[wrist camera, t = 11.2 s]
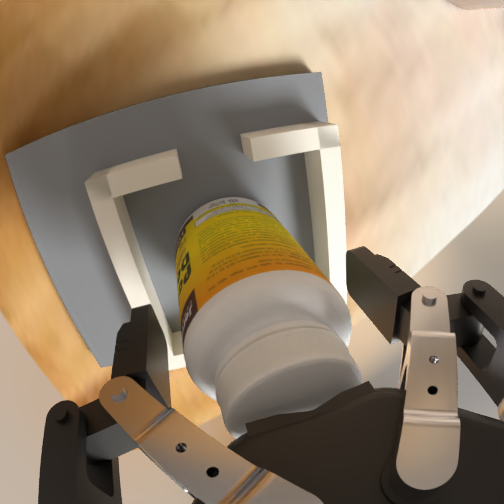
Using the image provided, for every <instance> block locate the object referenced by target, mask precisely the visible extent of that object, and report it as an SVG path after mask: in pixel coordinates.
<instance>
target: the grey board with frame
mask: <svg viewBox="0 0 504 504" xmlns="http://www.w3.org/2000/svg"><path fill="white" fill-rule="evenodd" d="M5 157H6V160H7V164H8V167H9V171H10V174H11V177H12V181H13V184H14V187H15V190H16V193H17V196H18V199H19V202H20V205H21V207H22V210H23V213H24V216H25V218H26V221H27V224H28V226H29V229H30V231H31V234H32V236H33V239H34V241H35V244H36V246H37V248H38V251H39V253H40V255H41V257H42V260H43V262H44V264H45V266H46V269H47V271H48V273H49V275H50V277H51V279H52V281H53V283H54V285H55V287H56V289H57V291H58V293H59V295H60V297H61V299H62V301H63V303H64V305H65V307H66V309H67V311H68V313H69V314H70V316H71V318H72V320H73V322H74V324H75V325H76V327H77V329H78V331H79V332H80V334H81V336H82V338H83V339H84V341H85V343H86V344H87V346H88V348H89V349H90V351H91V353H92V354H93V356H94V357H95V359H96V361H97V362H98V364H99V365H100V367H106V366H112V365H113V359H114V353H115V345H116V337H117V332H118V331H119V329H120V328H121V326H122V325H123V323H127V322H130V319H131V311H132V308H135V307H139V306H143V305H147V304H151V305H152V307H153V309H154V312H155V314H156V316H157V319H158V321H159V323H160V326H161V328H162V330H163V333H164V335H165V338H166V342H167V348H168V367H169V370H173V369H178V368H182V367H186V363H185V359H184V353H183V343H182V334H181V324H180V315H179V303H178V291H177V277H176V264H175V247H176V241H177V237H178V234H179V232H180V229H181V227H182V226H183V224H184V223H185V221H186V220H187V219H188V217H189V216H190V215H191V214H192V213H193V212H195V211H196V210H197V209H198V208H200V207H201V206H203V205H205V204H207V203H209V202H211V201H214V200H217V199H221V198H227V197H241V198H246V199H250V200H253V201H256V202H258V203H260V204H261V205H263V206H264V207H266V208H267V209H268V210H269V211H270V212H271V213H272V214H273V215H274V216H275V217H276V218H277V219H278V220H279V221H280V223H281V224H282V225H283V226H284V227H285V229H286V230H287V231H288V232H289V233H290V234H291V236H292V237H293V238H294V239H295V240H296V241H297V243H298V244H299V245H300V246H301V247H302V248H303V250H304V251H305V252H306V253H307V254H308V256H309V257H310V258H311V259H312V260H313V262H314V263H315V264H316V265H317V267H318V268H319V269H320V270H321V271H322V272H323V274H324V275H325V276H326V277H327V279H328V280H329V281H330V282H331V283H332V285H333V286H334V287H335V288H336V289H337V291H338V292H339V293H340V295H341V296H342V298H343V299H344V301H345V303H346V305H347V286H346V228H345V207H344V191H343V176H342V164H341V152H340V142H339V132H338V125H337V124H332V123H328V117H327V109H326V102H325V94H324V87H323V80H322V74H321V72H315V73H303V74H292V75H282V76H274V77H266V78H258V79H251V80H245V81H238V82H232V83H227V84H221V85H216V86H210V87H205V88H200V89H196V90H191V91H187V92H182V93H178V94H174V95H170V96H166V97H162V98H158V99H154V100H150V101H146V102H143V103H139V104H136V105H132V106H129V107H126V108H122V109H119V110H116V111H113V112H110V113H107V114H104V115H101V116H98V117H95V118H92V119H89V120H86V121H83V122H81V123H78V124H75V125H73V126H70V127H67V128H65V129H62V130H60V131H57V132H55V133H52V134H50V135H48V136H45V137H43V138H40V139H38V140H36V141H34V142H31V143H29V144H27V145H25V146H23V147H20V148H18V149H16V150H14V151H12V152H10V153H8V154H6V155H5Z"/></svg>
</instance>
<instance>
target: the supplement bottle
mask: <svg viewBox="0 0 504 504" xmlns="http://www.w3.org/2000/svg"><path fill="white" fill-rule="evenodd" d="M175 264H176V277H177V291H178V303H179V315H180V324H181V334H182V343H183V353H184V359H185V363H186V368H187V370H188V373H189V375H190V377H191V379H192V380H193V382H194V383H195V384H196V386H197V387H198V388H199V389H200V390H201V391H202V392H203V393H205V394H206V395H207V396H209V397H211V398H212V399H214V400H216V401H217V402H218V405H219V406H220V408H221V412H222V416H223V420H224V424H225V426H226V428H227V430H228V432H229V433H230V434H231V435H232V436H233V437H234V438H236V439H237V438H238V437H240V436H241V435H243V434H245V433H247V428H246V425H245V423H248V422H252V421H256V420H259V419H263V418H266V417H270V416H273V415H276V414H285V413H295V412H304V411H311V410H314V409H316V408H317V407H319V406H320V405H322V404H324V403H325V402H327V401H328V400H330V399H331V398H333V397H334V396H336V395H337V394H339V393H340V392H343V391H345V390H348V389H350V388H353V387H355V386H358V385H360V384H362V376H361V372H360V369H359V368H358V366H357V364H356V362H355V361H354V359H353V358H352V356H351V355H350V353H349V351H348V348H347V347H348V344H349V340H350V336H351V325H352V324H351V316H350V313H349V309H348V307H347V305H346V303H345V301H344V299H343V298H342V296H341V295H340V293H339V292H338V291H337V289H336V288H335V287H334V286H333V285H332V283H331V282H330V281H329V280H328V279H327V277H326V276H325V275H324V274H323V272H322V271H321V270H320V269H319V268H318V267H317V265H316V264H315V263H314V262H313V260H312V259H311V258H310V257H309V256H308V254H307V253H306V252H305V251H304V250H303V248H302V247H301V246H300V245H299V244H298V243H297V241H296V240H295V239H294V238H293V237H292V236H291V234H290V233H289V232H288V231H287V230H286V229H285V227H284V226H283V225H282V224H281V223H280V221H279V220H278V219H277V218H276V217H275V216H274V215H273V214H272V213H271V212H270V211H269V210H268V209H267V208H266V207H264V206H263V205H261V204H260V203H258V202H256V201H253V200H250V199H246V198H241V197H227V198H221V199H217V200H214V201H211V202H209V203H207V204H205V205H203V206H201V207H200V208H198V209H197V210H196V211H195V212H193V213H192V214H191V215H190V216H189V217H188V219H187V220H186V221H185V223H184V224H183V226H182V227H181V229H180V232H179V234H178V237H177V241H176V247H175Z"/></svg>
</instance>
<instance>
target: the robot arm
mask: <svg viewBox="0 0 504 504" xmlns="http://www.w3.org/2000/svg"><path fill="white" fill-rule="evenodd" d="M448 1H450V2H451V3H453V4H455V5H456V6H458V7H460V8H464V9H467V10H476V9H490V8H504V0H448ZM346 286H347V290H348V292H349V294H350V296H351V297H352V298H353V300H354V301H355V302H356V303H357V304H358V306H359V307H360V308H361V309H362V310H363V312H364V313H365V314H366V315H367V316H368V318H369V319H370V320H371V321H372V322H373V324H374V325H375V326H376V327H377V328H378V330H379V331H380V332H381V333H382V334H383V336H384V337H385V338H386V339H387V341H388V342H389V343H390V344H391V345H392V344H394V343H396V342H399V341H402V342H403V348H402V357H401V366H400V373H399V381H398V387H397V388H375V389H374V388H373V387H372V385H371V384H370V382H369V381H367V382H365V383H363V384H360V385H358V386H355V387H353V388H350V389H348V390H345V391H343V392H340V393H339V394H337V395H336V396H334V397H333V398H331V399H330V400H328V401H327V402H325V403H324V404H322V405H320V406H319V407H317V408H316V409H314V410H311V411H304V412H295V413H285V414H276V415H273V416H270V417H266V418H263V419H259V420H256V421H252V422H248V423H245V425H246V428H247V433H245V434H243V435H241V436H240V437H238V438H237V439H235V440H234V441H233V442H231V443H230V444H229V445H228V446H227V447H226V446H224V445H223V444H221V443H220V442H218V441H217V440H215V439H214V438H213V437H211V436H210V435H208V434H207V433H206V432H204V431H203V430H201V429H200V428H199V427H197V426H196V425H195V424H193V423H192V422H191V421H189V420H188V419H187V418H185V417H184V416H183V415H181V414H180V413H179V412H178V411H176V410H175V409H173V408H171V397H170V383H169V367H168V348H167V342H166V338H165V335H164V333H163V330H162V328H161V326H160V323H159V321H158V319H157V316H156V314H155V312H154V309H153V307H152V305H151V304H147V305H143V306H139V307H135V308H132V311H131V319H130V322H127V323H123V325H122V326H121V328H120V329H119V331H118V332H117V337H116V345H115V353H114V359H113V367H112V375H111V380H109V381H108V382H107V383H106V384H105V385H104V386H103V387H102V388H101V390H100V393H99V398H98V399H97V400H95V401H93V402H91V403H88V404H86V405H84V406H82V407H78V406H77V404H76V403H74V402H73V401H69V400H66V401H61V402H59V403H57V404H55V405H54V406H53V407H52V408H51V409H50V410H49V412H48V414H47V417H46V423H45V430H44V437H43V446H42V454H41V466H40V479H39V496H38V504H122V498H121V488H120V476H119V462H118V456H120V455H122V454H125V453H127V452H129V451H131V450H133V449H136V448H139V449H140V450H141V451H142V452H144V454H145V455H146V456H147V457H148V458H150V460H152V461H153V462H154V463H155V464H156V465H157V466H158V467H159V468H160V469H161V470H162V471H163V472H164V473H165V474H166V475H168V476H169V477H170V478H171V479H172V480H173V481H174V482H175V483H176V484H177V485H179V486H180V487H181V488H182V489H183V490H185V491H186V492H187V493H188V494H189V495H190V496H191V497H193V498H194V501H193V503H192V504H504V297H503V296H502V295H501V294H499V292H497V291H496V290H495V289H494V288H493V287H492V286H490V285H489V284H488V283H486V282H484V281H480V280H470V281H467V282H466V283H465V284H464V286H463V289H462V293H459V294H453V295H445V293H444V292H443V291H441V290H440V289H438V288H435V287H428V286H425V287H421V286H420V285H418V284H417V283H416V282H415V281H414V280H413V279H412V278H411V277H409V276H408V275H407V274H406V273H405V272H404V271H402V270H401V269H400V268H399V267H398V266H396V265H395V264H394V263H393V262H392V261H391V260H389V259H388V258H386V257H383V256H381V255H378V254H376V255H374V254H373V253H372V252H371V251H370V250H368V249H367V248H366V247H364V246H362V247H359V248H355V249H352V250H349V251H347V252H346ZM484 327H485V328H486V329H487V330H488V331H489V332H490V334H491V335H492V336H493V337H494V338H495V340H496V344H497V348H495V347H494V346H493V345H492V344H491V343H490V342H489V340H488V339H487V338H486V337H485V336H484V335H483V334H482V332H483V329H484ZM457 355H458V357H459V358H460V359H461V361H462V362H463V363H464V364H465V365H466V367H467V368H468V369H469V370H470V372H471V373H472V374H473V375H474V377H475V378H476V379H477V380H478V382H479V383H480V384H481V386H482V387H483V388H484V389H485V391H486V392H487V393H488V394H489V396H490V397H491V399H492V400H493V401H494V403H495V404H496V405H497V407H498V415H499V419H500V420H498V419H494V418H491V417H487V416H484V415H480V414H477V413H474V412H470V411H467V410H464V409H461V408H458V375H457Z"/></svg>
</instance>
